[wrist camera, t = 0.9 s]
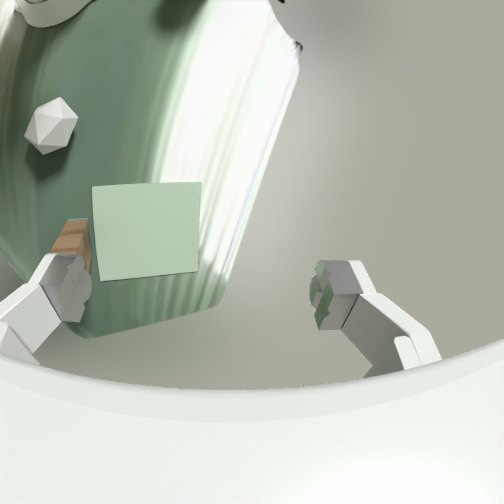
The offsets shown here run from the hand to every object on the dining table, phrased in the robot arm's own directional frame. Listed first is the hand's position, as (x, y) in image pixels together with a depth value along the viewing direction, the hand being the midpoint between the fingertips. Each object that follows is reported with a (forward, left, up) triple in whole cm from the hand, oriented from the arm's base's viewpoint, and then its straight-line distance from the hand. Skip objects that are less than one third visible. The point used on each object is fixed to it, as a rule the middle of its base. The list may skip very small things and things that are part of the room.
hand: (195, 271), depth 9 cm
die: (-7, -15, -42) cm, 45 cm away
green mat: (+13, +2, -41) cm, 43 cm away
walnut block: (+13, -11, -41) cm, 45 cm away
